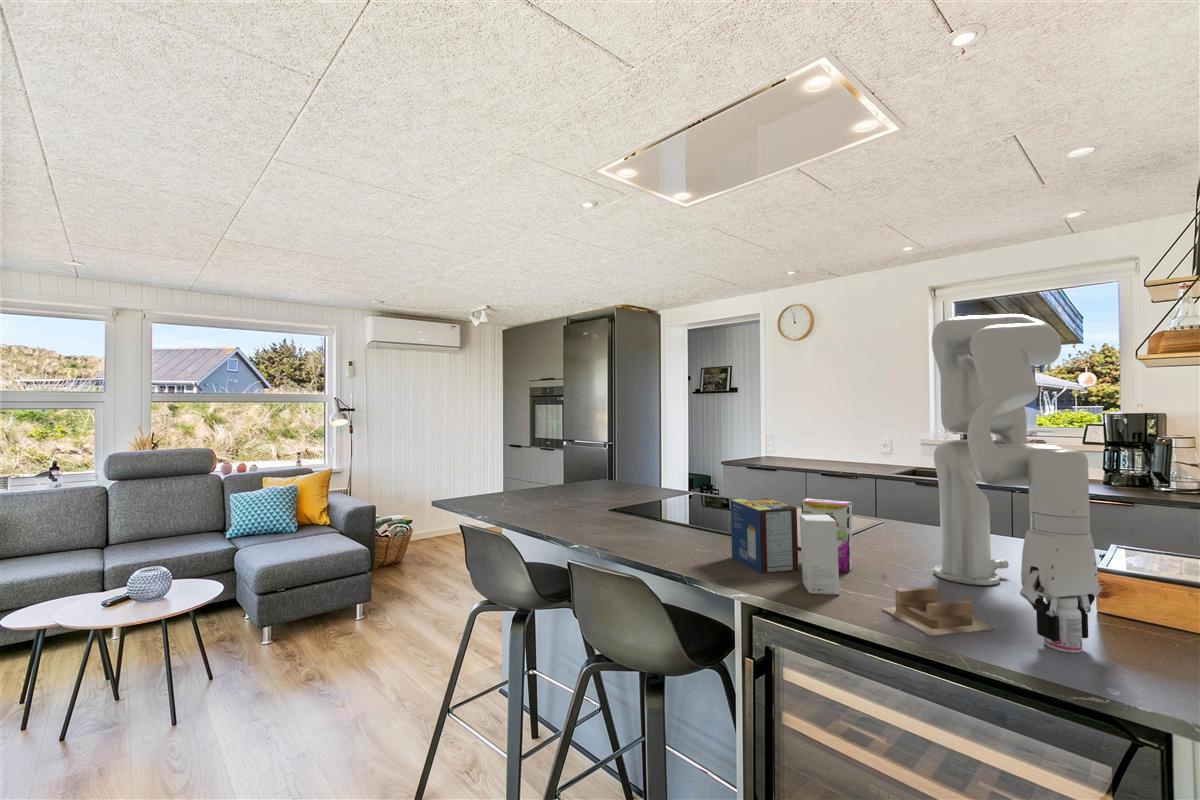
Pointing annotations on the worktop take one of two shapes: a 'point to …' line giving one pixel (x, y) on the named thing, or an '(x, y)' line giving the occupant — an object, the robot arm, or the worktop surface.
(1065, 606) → the pill bottle
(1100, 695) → the worktop surface
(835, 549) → the skincare box
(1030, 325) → the robot arm
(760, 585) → the worktop surface
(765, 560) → the protein box
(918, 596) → the cradle
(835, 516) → the candy bar box
